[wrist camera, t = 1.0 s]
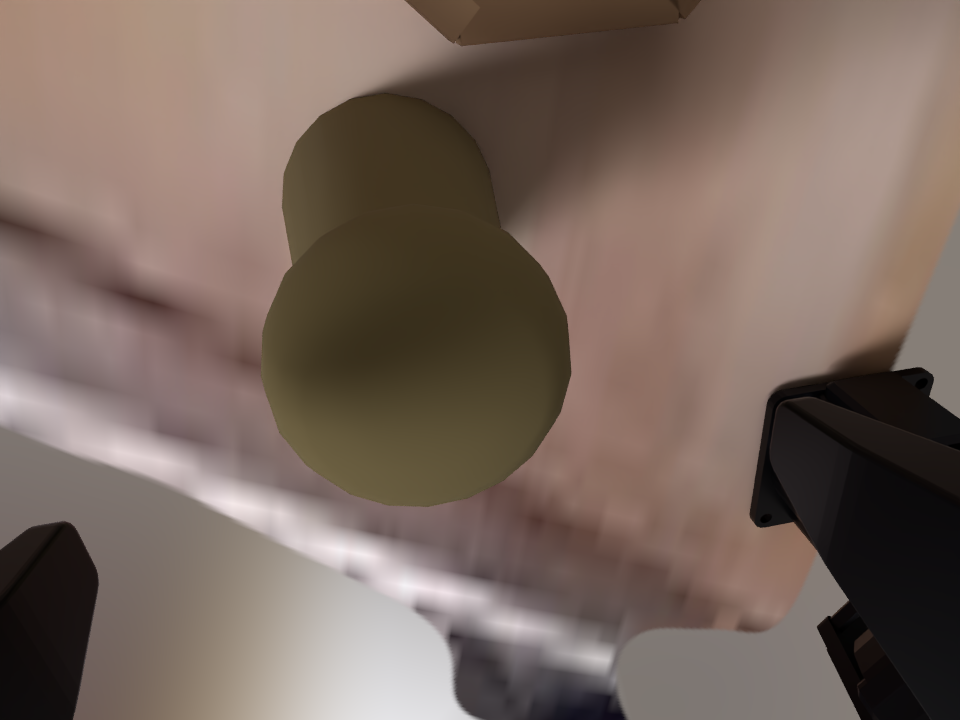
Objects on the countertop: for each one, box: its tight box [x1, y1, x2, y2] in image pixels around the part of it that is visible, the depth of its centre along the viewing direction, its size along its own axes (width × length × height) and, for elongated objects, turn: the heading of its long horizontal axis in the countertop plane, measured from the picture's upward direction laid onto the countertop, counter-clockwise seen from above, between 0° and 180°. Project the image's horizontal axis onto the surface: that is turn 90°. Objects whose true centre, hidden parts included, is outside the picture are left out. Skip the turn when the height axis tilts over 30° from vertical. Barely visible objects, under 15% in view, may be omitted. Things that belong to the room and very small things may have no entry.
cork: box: [261, 93, 571, 507], centre depth 15 cm, size 6×6×11 cm
